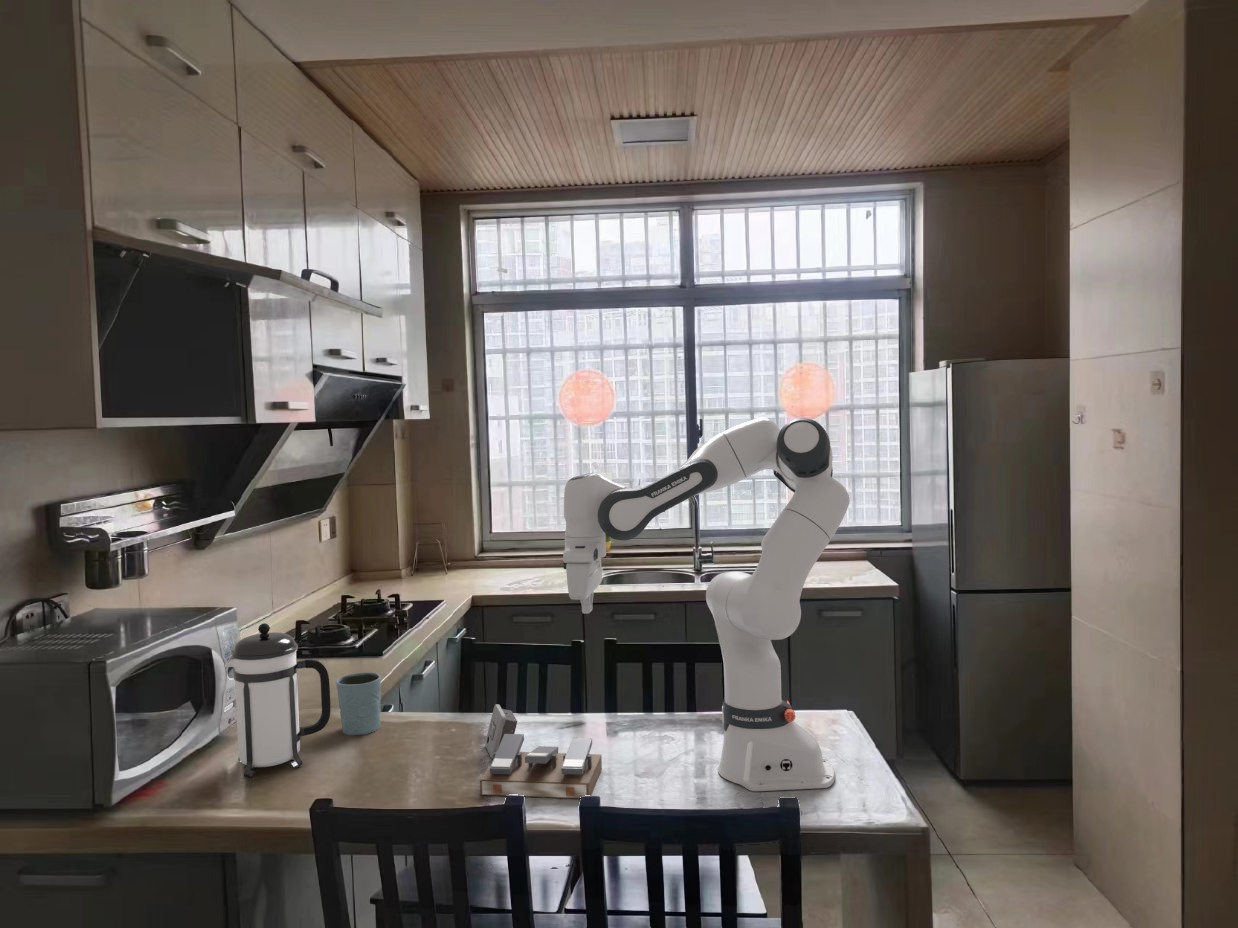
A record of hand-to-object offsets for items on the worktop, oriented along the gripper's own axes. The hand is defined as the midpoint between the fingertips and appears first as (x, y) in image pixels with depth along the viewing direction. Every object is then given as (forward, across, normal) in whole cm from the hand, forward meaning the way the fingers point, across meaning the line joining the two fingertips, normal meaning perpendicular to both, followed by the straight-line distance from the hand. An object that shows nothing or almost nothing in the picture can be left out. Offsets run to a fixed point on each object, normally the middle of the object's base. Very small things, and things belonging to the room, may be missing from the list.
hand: (587, 612), depth 186 cm
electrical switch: (+29, +5, -19) cm, 35 cm away
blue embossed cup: (+29, -6, -56) cm, 64 cm away
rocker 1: (+24, +20, -13) cm, 34 cm away
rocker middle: (+24, +20, -6) cm, 32 cm away
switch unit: (+29, +20, -6) cm, 36 cm away
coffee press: (+29, +15, -65) cm, 73 cm away
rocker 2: (+24, +20, +1) cm, 31 cm away
